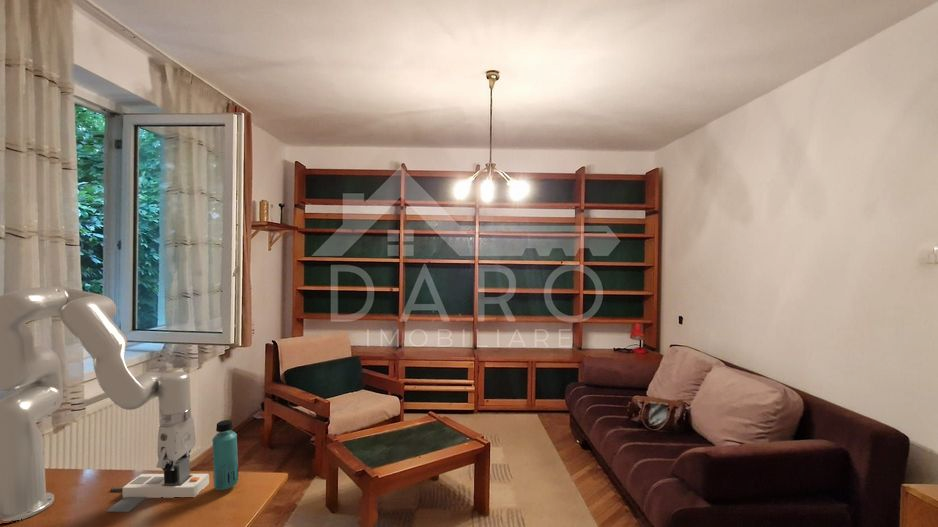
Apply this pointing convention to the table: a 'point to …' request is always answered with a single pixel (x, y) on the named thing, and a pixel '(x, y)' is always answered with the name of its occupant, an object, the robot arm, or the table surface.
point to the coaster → (126, 504)
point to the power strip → (155, 486)
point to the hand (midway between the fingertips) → (177, 477)
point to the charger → (180, 472)
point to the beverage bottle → (225, 456)
